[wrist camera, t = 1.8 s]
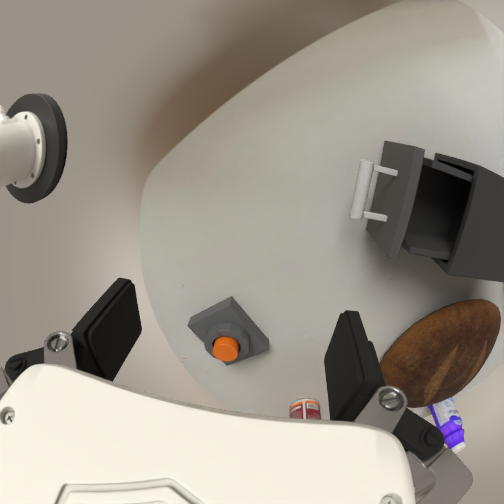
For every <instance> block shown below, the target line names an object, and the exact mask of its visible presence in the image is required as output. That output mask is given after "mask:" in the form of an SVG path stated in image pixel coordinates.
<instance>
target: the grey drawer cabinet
mask: <svg viewBox="0 0 504 504" xmlns="http://www.w3.org/2000/svg"><path fill="white" fill-rule="evenodd" d="M434 161H437V162H440V163H443V164H445V165H448V166H450V167H453V168H456V169H458V170H461V171H463V172H465V173H468V174H470V175H473V180H472V185H471V189H470V194H469V198H468V201H467V205H466V209H465V213H464V216H463V220H462V223H461V226H460V229H459V233H458V236H457V239H456V242H455V244H454V247H453V250H452V253H451V256H450V258H449V260H445V259H439V258H433V257H431V258H432V259H433V260H434V261H435V262H436V263H437V264H438V265H439V266H440V267H441V268H442V269H443V270H444V271H445V272H446V274H447V275H454V276H461V277H469V278H476V279H483V280H491V281H498V282H504V178H503V177H501V176H500V175H498V174H496V173H494V172H492V171H490V170H488V169H486V168H484V167H482V166H480V165H477V164H473V163H470V162H467V161H464V160H460V159H457V158H453V157H450V156H446V155H442V154H439V153H435V159H434Z"/></svg>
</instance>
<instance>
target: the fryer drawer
mask: <svg viewBox="0 0 504 504" xmlns="http://www.w3.org/2000/svg"><path fill="white" fill-rule="evenodd" d="M424 152H425V150H424V149H421V148H418V147H415V146H410V145H405V144H400V143H395V142H389V141H385V142H384V148H383V154H382V160H381V165H380V166H378V165H374V163H373V162H370V161H366V160H361V161H360V166H359V172H358V177H357V182H356V187H355V192H354V197H353V202H352V206H351V211H350V215H349V216H350V217H351V218H354V219H357V220H362V218H369V220H368V224H367V228H366V230H367V231H368V233H369V234H370V235H371V236H372V238H373V239H374V240H375V241H376V243H377V244H378V245H379V246H380V248H381V249H382V250H383V252H384V253H385V254H386V256H387V257H389V258H395V259H397V258H398V255H399V252H400V249H401V246H402V247H403V248H404V249H405V250H406V251H407V252H408V253H409V254H415V255H421V256H427V257H433V258H439V259H445V260H449V258H450V256H451V253H452V250H453V247H454V244H455V242H456V239H457V236H458V233H459V229H460V226H461V223H462V220H463V216H464V213H465V209H466V205H467V201H468V198H469V194H470V189H471V185H472V180H473V175H470V174H468V173H465V172H463V171H461V170H458V169H456V168H453V167H450V166H448V165H445V164H443V163H440V162H437V161H434V160H431V159H428V158H424ZM373 171H377V172H379V176H378V181H377V185H376V190H375V195H374V199H373V203H372V208H371V212H367V211H364V209H365V205H366V200H367V196H368V191H369V187H370V182H371V177H372V172H373Z"/></svg>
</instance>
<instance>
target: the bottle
mask: <svg viewBox="0 0 504 504" xmlns="http://www.w3.org/2000/svg"><path fill="white" fill-rule="evenodd" d="M429 408H430V411H431V413H432V415H433V418H434V421H435V424H436V427H437V428H438V429H439V430H440V431H441V432H442V434H443V436H444V443H445V444H447V446H448V447H449V448H450V449H451V450H452V451H453V452H454V453H457V452H459V451H460V450H462V449H463V448H464V447H465V446H466V444H465V441H464V429H462V420H461V418H460V415H459V413H458V410H457V408H456V406H455V403H454V401H453V399H452V397H450V398H448V399H446V400H444V401H441V402H439V403H436V404H432V405H429Z"/></svg>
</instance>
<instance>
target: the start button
mask: <svg viewBox="0 0 504 504" xmlns="http://www.w3.org/2000/svg"><path fill="white" fill-rule="evenodd" d="M238 350H239V344H238V342H237V341H236V340H235V339H233V338H231V337H219V338H217V339H216V340H215V343H214V347H213V354H214V356H215V357H216V358H217V359H219V360H222V361H233V360H235V359H236V358H237V356H238Z"/></svg>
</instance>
